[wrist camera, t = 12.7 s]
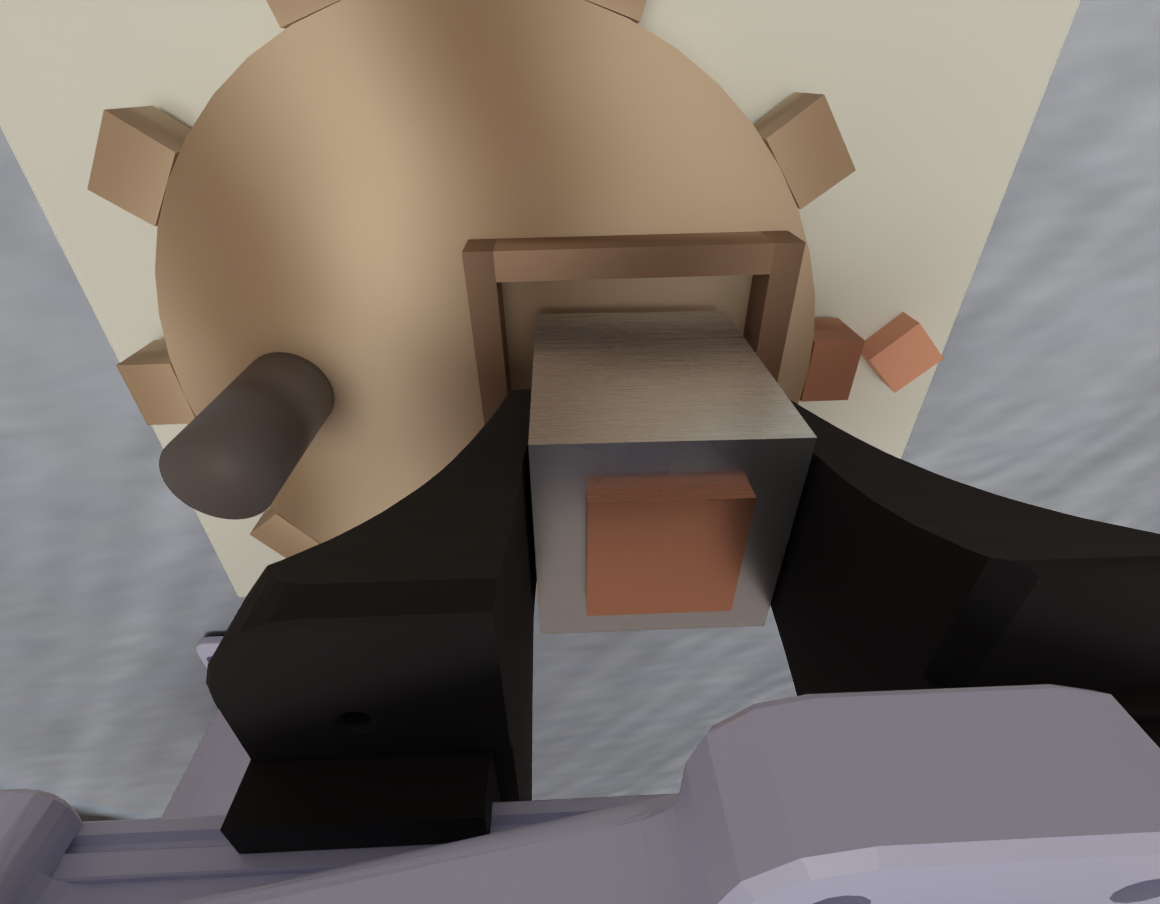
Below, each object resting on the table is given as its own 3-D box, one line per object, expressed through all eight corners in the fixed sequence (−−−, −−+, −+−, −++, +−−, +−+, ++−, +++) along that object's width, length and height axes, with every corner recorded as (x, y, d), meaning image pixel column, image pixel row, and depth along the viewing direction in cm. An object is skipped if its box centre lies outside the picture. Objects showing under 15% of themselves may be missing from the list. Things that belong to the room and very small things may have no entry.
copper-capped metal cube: (701, 463, 14) (769, 639, 10) (543, 468, 14) (539, 648, 10) (724, 310, 12) (825, 449, 8) (535, 313, 12) (526, 457, 7)
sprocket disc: (274, 593, 19) (199, 735, 15) (-44, -80, 10) (-487, -193, 6) (773, 571, 20) (832, 703, 16) (941, -92, 10) (1210, -204, 6)
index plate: (842, 556, 21) (864, 593, 20) (251, 576, 20) (227, 615, 19) (1081, -99, 11) (1164, -126, 10) (-73, -110, 10) (-180, -142, 9)
